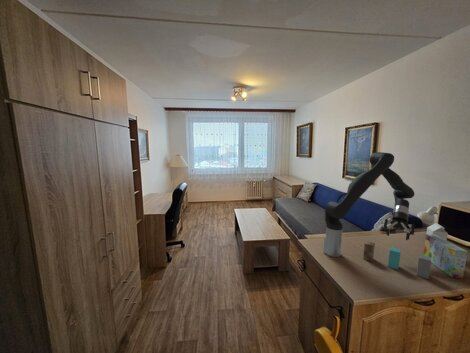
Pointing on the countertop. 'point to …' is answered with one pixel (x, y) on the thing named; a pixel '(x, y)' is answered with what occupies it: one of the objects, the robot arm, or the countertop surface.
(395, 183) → the robot arm
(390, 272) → the countertop surface
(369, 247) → the walnut block
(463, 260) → the snack box
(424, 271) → the charcoal block
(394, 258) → the teal block
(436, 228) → the milk carton
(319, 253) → the countertop surface
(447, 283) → the countertop surface
